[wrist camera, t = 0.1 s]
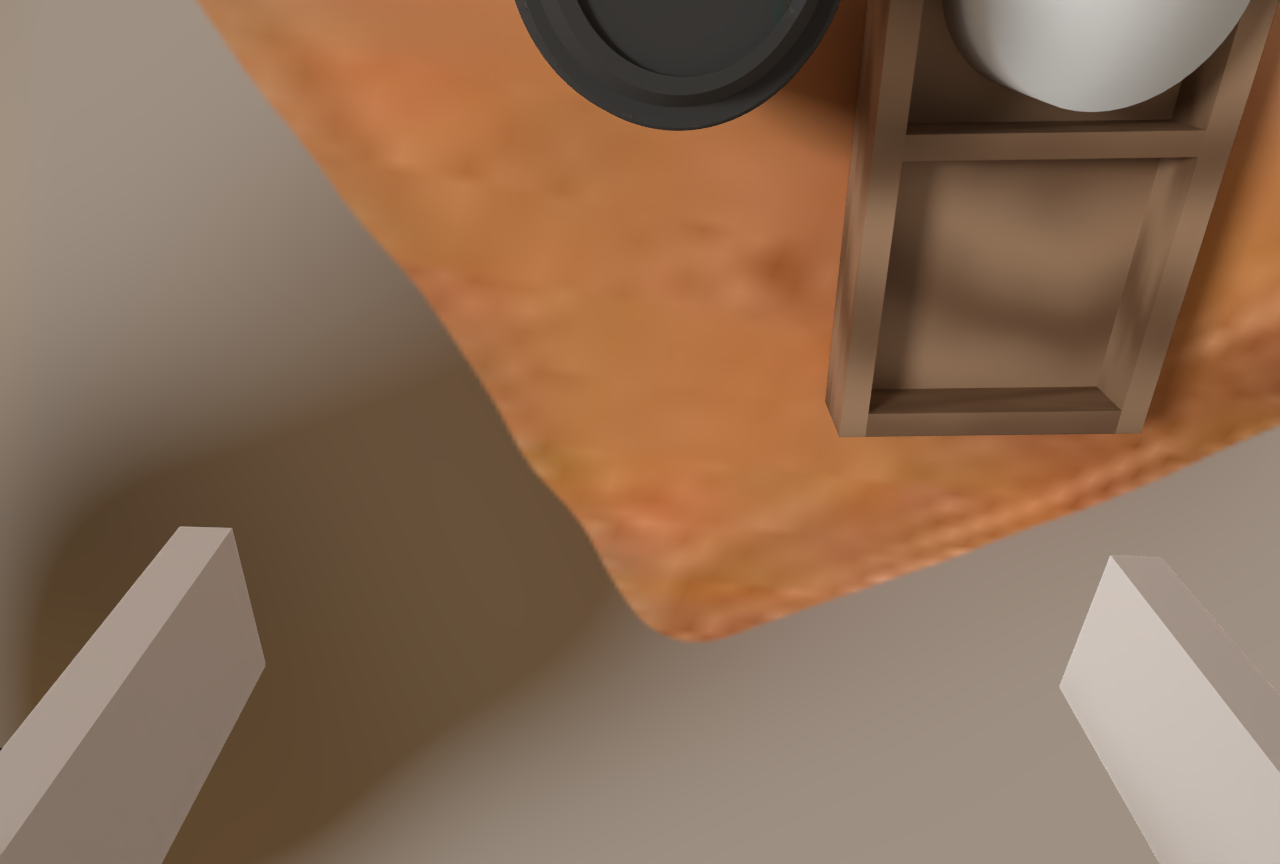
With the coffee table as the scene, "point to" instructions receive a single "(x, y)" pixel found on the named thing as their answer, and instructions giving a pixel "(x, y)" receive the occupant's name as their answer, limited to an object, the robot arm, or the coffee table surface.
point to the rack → (1017, 238)
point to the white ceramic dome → (1089, 45)
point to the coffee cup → (677, 53)
